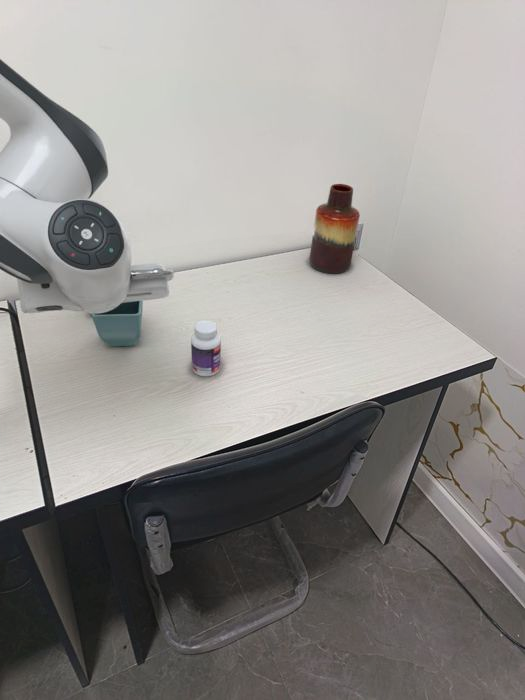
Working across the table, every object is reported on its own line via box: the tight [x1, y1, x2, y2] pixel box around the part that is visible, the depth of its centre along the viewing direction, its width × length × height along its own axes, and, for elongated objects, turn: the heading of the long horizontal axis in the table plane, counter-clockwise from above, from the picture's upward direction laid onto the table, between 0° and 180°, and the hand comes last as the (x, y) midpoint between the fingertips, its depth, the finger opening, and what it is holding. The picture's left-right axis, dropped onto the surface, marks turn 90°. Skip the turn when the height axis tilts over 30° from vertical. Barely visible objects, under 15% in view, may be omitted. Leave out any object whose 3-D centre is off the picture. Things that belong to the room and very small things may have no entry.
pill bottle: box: [190, 319, 222, 377], centre depth 91 cm, size 5×5×10 cm
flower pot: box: [91, 300, 144, 347], centre depth 97 cm, size 9×9×9 cm
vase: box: [308, 183, 361, 275], centre depth 124 cm, size 11×11×20 cm
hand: (99, 301), depth 76 cm, fingers closed
